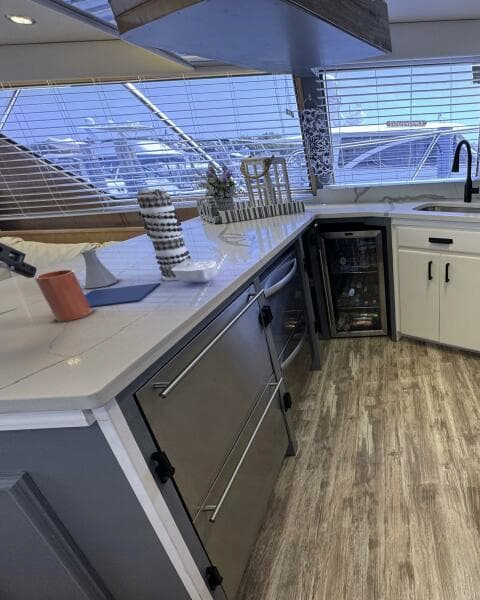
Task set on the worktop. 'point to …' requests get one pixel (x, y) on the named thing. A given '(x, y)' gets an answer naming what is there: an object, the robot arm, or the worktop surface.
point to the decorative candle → (163, 230)
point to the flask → (96, 271)
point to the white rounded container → (195, 271)
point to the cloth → (119, 295)
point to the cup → (63, 295)
